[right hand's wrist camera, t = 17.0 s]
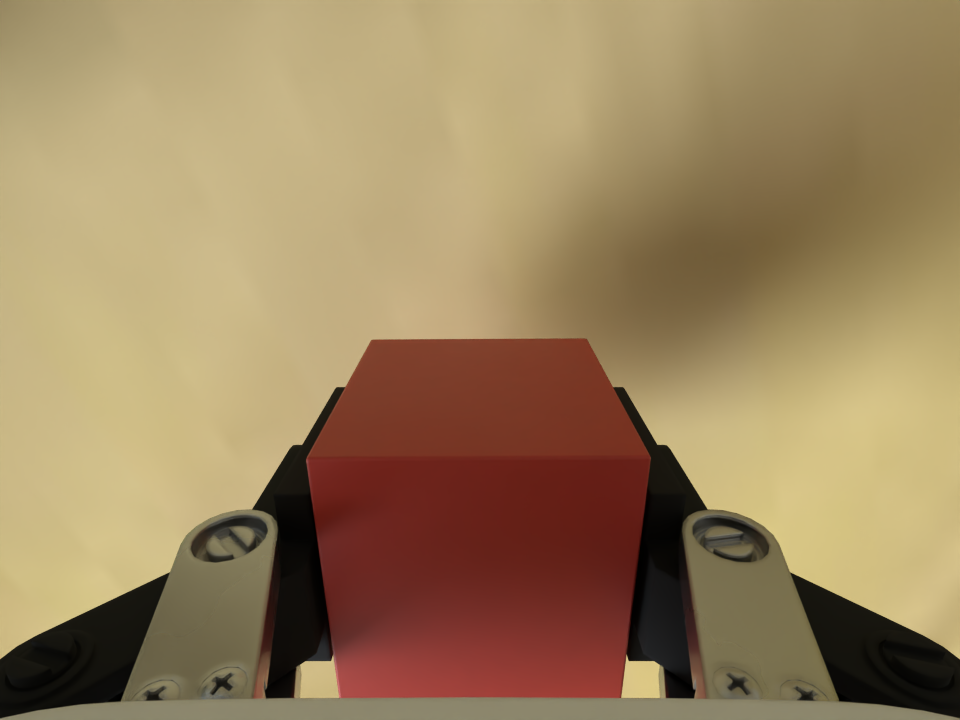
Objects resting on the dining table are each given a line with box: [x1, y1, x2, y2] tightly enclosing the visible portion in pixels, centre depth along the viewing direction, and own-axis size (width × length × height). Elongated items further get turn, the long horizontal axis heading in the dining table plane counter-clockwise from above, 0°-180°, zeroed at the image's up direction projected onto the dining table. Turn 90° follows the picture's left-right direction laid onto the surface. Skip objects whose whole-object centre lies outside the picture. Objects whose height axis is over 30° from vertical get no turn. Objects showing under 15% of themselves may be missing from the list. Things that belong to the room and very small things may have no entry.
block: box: [306, 339, 651, 698], centre depth 10 cm, size 5×4×5 cm
